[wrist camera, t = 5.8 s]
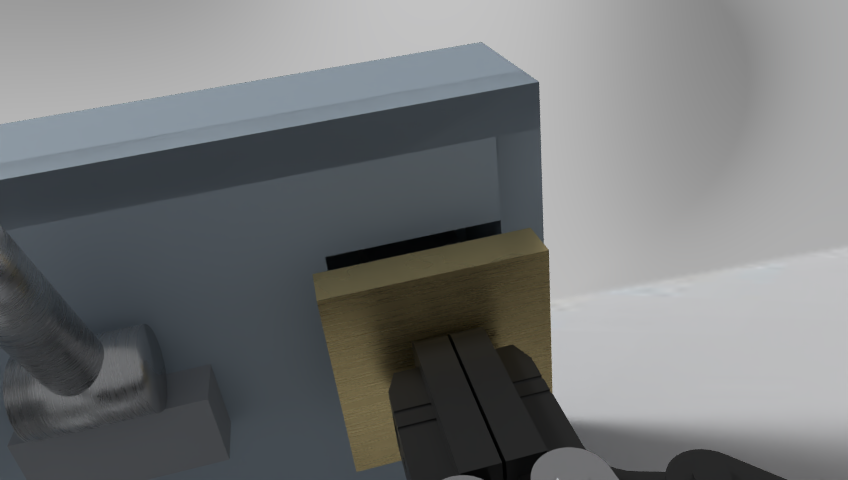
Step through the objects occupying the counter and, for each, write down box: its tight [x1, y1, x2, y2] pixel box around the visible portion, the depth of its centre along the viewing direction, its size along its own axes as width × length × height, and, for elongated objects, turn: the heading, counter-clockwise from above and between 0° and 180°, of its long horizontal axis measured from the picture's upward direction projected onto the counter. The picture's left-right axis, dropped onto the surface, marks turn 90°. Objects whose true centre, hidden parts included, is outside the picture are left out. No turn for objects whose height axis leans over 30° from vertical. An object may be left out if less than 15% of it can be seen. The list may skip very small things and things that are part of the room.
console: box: [0, 42, 544, 480], centre depth 17 cm, size 20×5×13 cm, turn 102°
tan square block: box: [313, 228, 552, 472], centre depth 16 cm, size 5×4×5 cm
